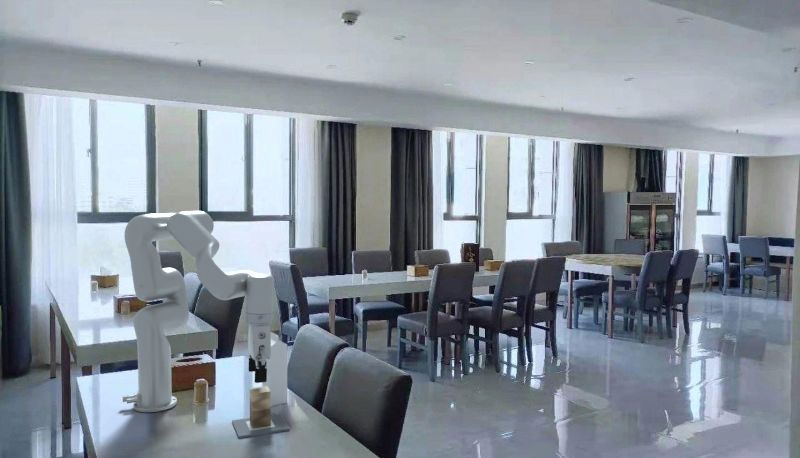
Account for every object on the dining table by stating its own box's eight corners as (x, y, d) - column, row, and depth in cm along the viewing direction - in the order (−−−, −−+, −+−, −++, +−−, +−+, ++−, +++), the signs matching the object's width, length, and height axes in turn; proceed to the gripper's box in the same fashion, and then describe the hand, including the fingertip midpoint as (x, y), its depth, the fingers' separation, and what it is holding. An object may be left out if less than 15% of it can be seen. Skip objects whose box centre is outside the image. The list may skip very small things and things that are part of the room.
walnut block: (253, 428, 164) (252, 411, 164) (249, 422, 169) (249, 405, 168) (270, 425, 166) (270, 408, 166) (267, 419, 171) (267, 402, 170)
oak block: (252, 411, 164) (252, 393, 164) (249, 405, 168) (249, 388, 168) (270, 408, 166) (270, 391, 165) (267, 402, 170) (267, 386, 170)
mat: (238, 438, 159) (238, 436, 159) (232, 422, 170) (232, 420, 170) (289, 430, 165) (289, 428, 165) (280, 415, 176) (280, 413, 176)
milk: (270, 406, 183) (269, 337, 181) (262, 401, 188) (261, 333, 186) (287, 402, 187) (287, 334, 185) (279, 397, 191) (279, 330, 190)
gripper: (279, 324, 159) (276, 385, 161) (266, 310, 175) (264, 366, 176) (251, 325, 156) (249, 388, 158) (240, 311, 172) (239, 368, 173)
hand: (257, 376), depth 167 cm, fingers open, 9 cm apart
